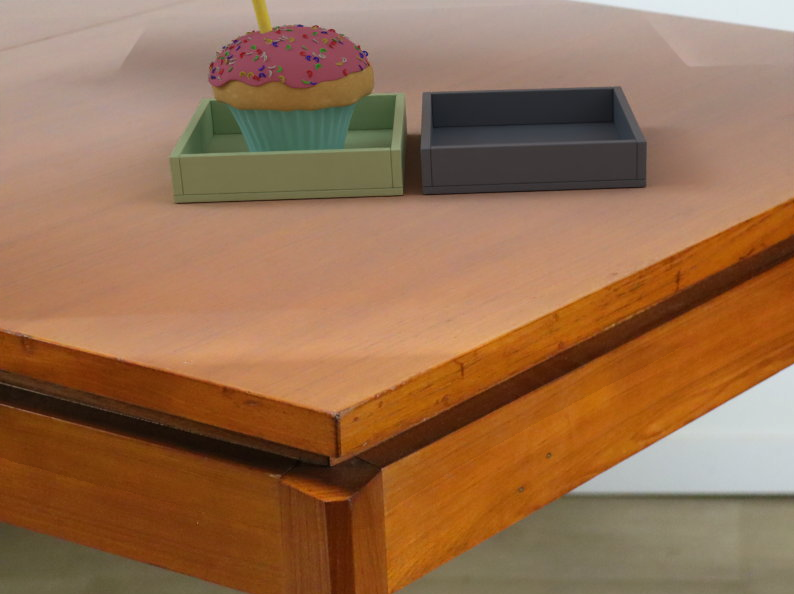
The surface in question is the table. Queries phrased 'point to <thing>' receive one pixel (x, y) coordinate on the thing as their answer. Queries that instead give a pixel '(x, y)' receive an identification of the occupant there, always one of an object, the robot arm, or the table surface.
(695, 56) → the table surface
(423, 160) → the slate tray
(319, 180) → the green tray
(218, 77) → the cupcake
